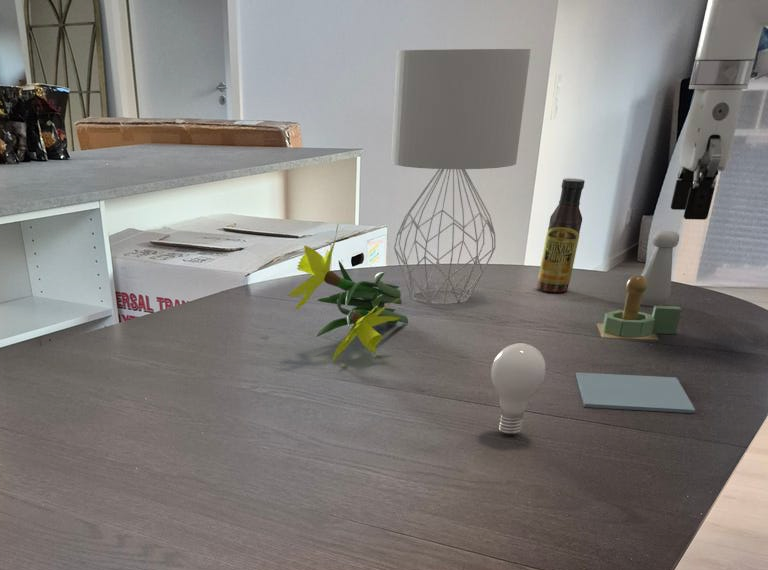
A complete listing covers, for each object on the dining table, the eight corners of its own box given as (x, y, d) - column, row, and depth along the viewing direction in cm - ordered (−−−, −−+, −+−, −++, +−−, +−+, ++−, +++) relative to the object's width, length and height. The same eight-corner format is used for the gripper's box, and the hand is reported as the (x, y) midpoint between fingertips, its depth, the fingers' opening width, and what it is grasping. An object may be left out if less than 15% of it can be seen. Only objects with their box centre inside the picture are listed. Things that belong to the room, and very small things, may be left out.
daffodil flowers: (449, 333, 147) (390, 323, 117) (376, 372, 154) (302, 372, 124) (412, 240, 146) (342, 206, 115) (340, 284, 153) (255, 262, 122)
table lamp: (519, 307, 160) (555, 48, 137) (407, 315, 155) (426, 49, 132) (469, 282, 177) (494, 50, 155) (368, 289, 173) (378, 51, 150)
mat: (675, 380, 122) (676, 377, 122) (694, 413, 111) (695, 409, 111) (575, 375, 125) (576, 372, 124) (584, 407, 113) (584, 403, 113)
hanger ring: (670, 327, 144) (676, 302, 141) (678, 339, 138) (685, 313, 135) (600, 324, 146) (605, 299, 143) (605, 335, 140) (610, 310, 137)
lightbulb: (537, 445, 102) (552, 352, 96) (483, 442, 103) (495, 350, 97) (533, 426, 107) (548, 338, 101) (482, 424, 108) (493, 336, 102)
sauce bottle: (534, 292, 169) (551, 180, 158) (538, 286, 174) (555, 176, 163) (568, 295, 167) (587, 181, 156) (571, 288, 172) (590, 177, 161)
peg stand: (649, 330, 145) (663, 270, 140) (658, 344, 138) (672, 281, 133) (595, 327, 147) (606, 268, 141) (600, 341, 140) (612, 279, 134)
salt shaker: (662, 313, 155) (680, 235, 148) (630, 309, 157) (647, 232, 150) (670, 306, 159) (688, 230, 152) (638, 302, 162) (655, 228, 154)
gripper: (767, 77, 109) (728, 223, 119) (733, 75, 123) (701, 206, 133) (705, 77, 110) (672, 222, 120) (679, 75, 124) (651, 205, 134)
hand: (687, 214), depth 126 cm, fingers open, 9 cm apart
